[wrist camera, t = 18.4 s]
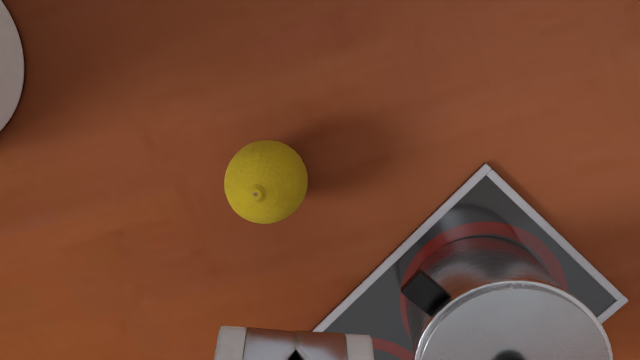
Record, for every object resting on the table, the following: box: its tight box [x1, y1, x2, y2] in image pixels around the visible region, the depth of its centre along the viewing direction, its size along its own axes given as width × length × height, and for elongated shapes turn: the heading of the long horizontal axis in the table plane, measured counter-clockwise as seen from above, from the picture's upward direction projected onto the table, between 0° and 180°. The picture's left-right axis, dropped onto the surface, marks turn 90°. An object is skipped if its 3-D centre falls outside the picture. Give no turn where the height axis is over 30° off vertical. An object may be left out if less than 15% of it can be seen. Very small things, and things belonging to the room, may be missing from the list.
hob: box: [311, 163, 628, 360], centre depth 43 cm, size 28×15×1 cm, turn 137°
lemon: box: [224, 140, 308, 224], centre depth 37 cm, size 6×6×8 cm
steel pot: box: [400, 237, 613, 360], centre depth 36 cm, size 12×16×11 cm
